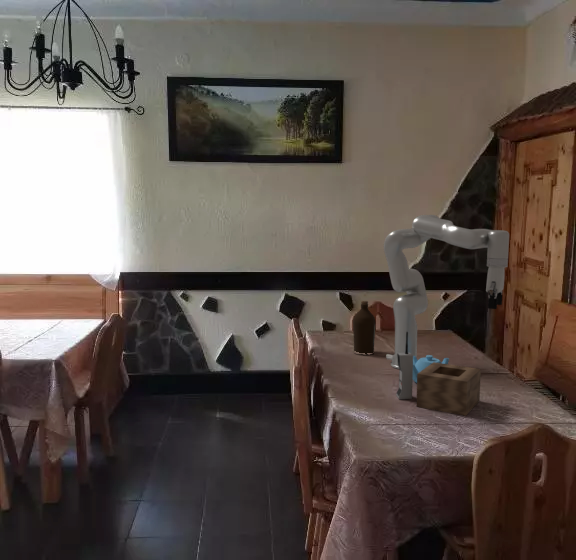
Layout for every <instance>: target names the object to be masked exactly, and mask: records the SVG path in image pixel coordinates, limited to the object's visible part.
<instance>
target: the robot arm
mask: <svg viewBox="0 0 576 560" xmlns="http://www.w3.org/2000/svg"><path fill="white" fill-rule="evenodd" d="M430 239H434V240H437V241H438V240H439V241H442V242H445V243H446V244H449V245H452V246H456V247H459V248H463V249H468V250H477V249H484V248H487V253H486V255H487V257H486V258H487V259H486V267H488V270H487V276H486V288H485V291H486V293H488V298H487V309H489V310H490V309H491V310H497V308H498V306H502V304H503V290H504V286H505V268H508V263H509V249H510V247H509V246H510V245H509V244H510V233H509V232H508V231H507V230H502V229H501V230H499V229H495V230H493V229H488V228H474V229H469V228H465V227H461V226H456V225H454V223H453V221H452V220H448V219H443V218H440V217H439V216H437V215H436V214H421V215H418V216H416V217H415V218H414V219H413V220H412V224H411V228H401V229H396V230H392V231H391V232H390V233H389V234H387V236H386V237H385V239H384V242H383V252H384V255H385V258H386V263H387V267H388V273H389V277H390V283H391V286H392V289H393V290H394V291H395V292H397V293H406V294H403V295H400V296H398V297H397V298H396V299H395V300H394V301H393V307H392V308H393V309H392V310H393V316H394V353H393V354H389V353H387V354H386V356H385V358H386V360H387V361H388V360H391V363H390V366H391V367H392V368H395V369H397V370H398V369H399V366H398V358H397V353H405V351H406V332H408V353H411V354H412V355H413V356H416V358H417V357H418V355H417V354H418V353H417V352H418V351H417V349H418V324H417V320H416V319H417V318H416V315H420V314H423V313H424V312H426V310H427V309H428V305H429V300H428V296H427V290H426V287H425V282H424V277H423V275H422V274H421V272H419V270H417V269H415V268H410V267H409V264H408V259H407V257H406V255H405V253H404V252H403V250H404V249H405V250H406V249H415V248H417V247H419V246H421V245H422V244H424V243H425V242H427V241H429V240H430ZM417 359H418V358H417Z"/></svg>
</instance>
